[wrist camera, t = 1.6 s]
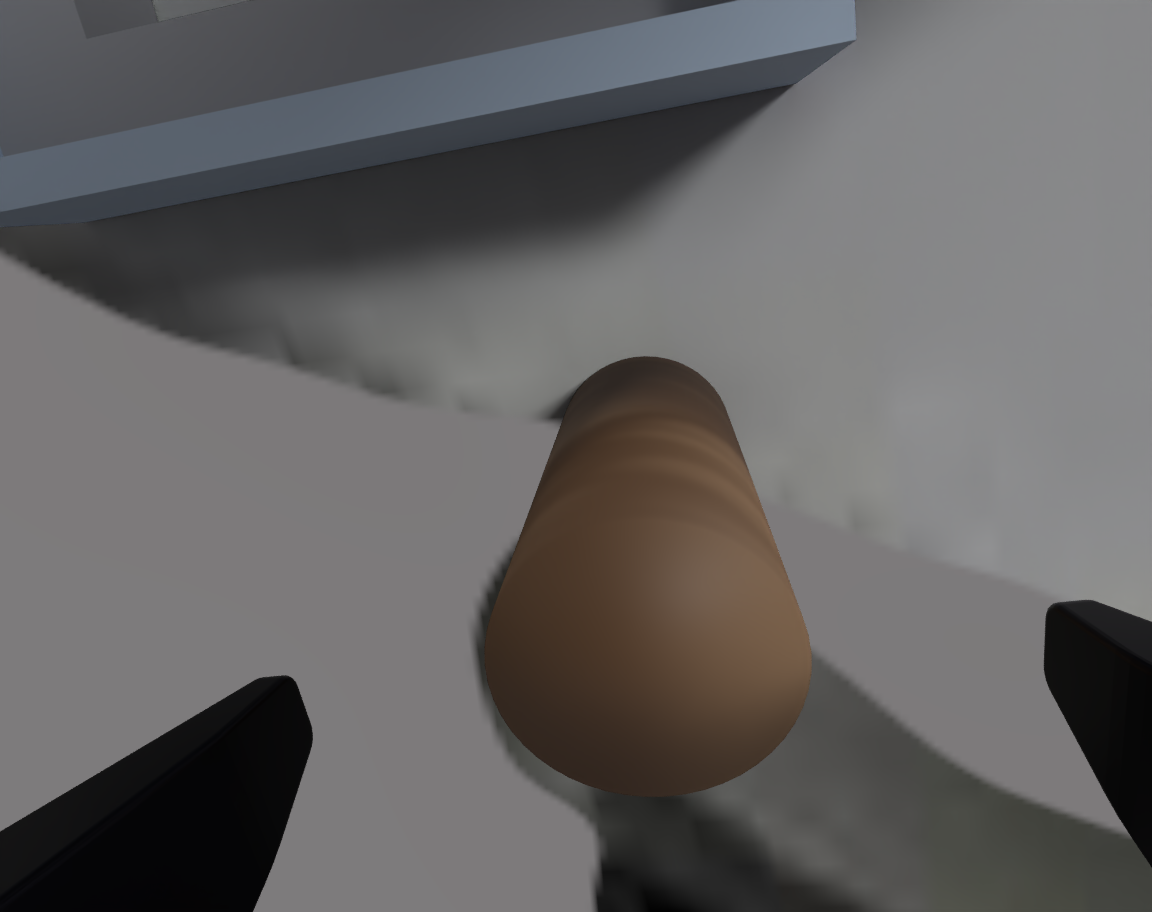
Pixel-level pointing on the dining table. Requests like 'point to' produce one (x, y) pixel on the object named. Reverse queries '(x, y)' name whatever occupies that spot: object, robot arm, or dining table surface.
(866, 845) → the dining table surface
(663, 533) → the peg
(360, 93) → the box
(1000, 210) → the dining table surface
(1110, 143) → the dining table surface
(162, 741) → the robot arm
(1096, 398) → the dining table surface
